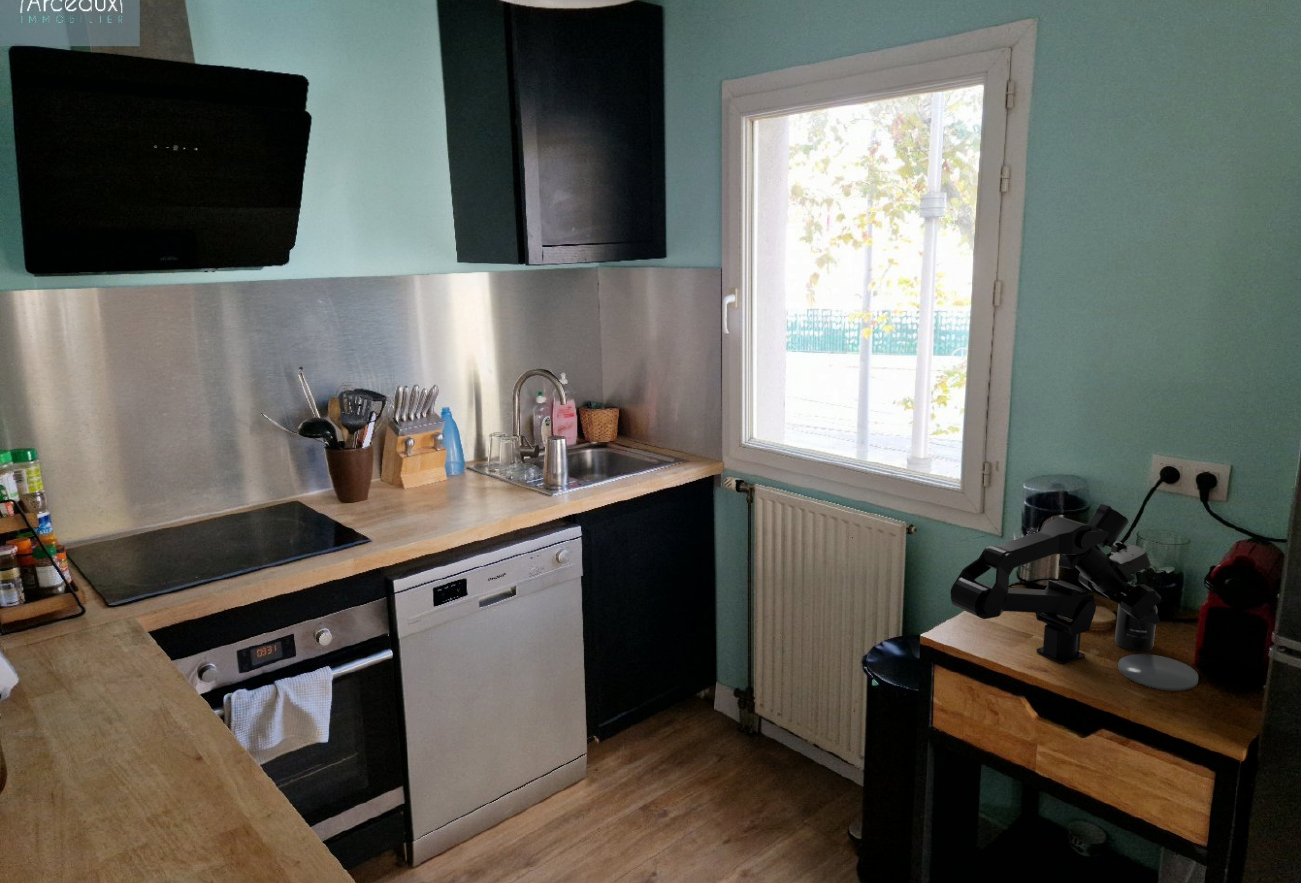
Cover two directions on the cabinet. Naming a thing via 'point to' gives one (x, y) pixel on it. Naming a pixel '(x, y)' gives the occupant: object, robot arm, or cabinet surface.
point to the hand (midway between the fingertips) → (1143, 613)
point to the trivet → (1158, 672)
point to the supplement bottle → (1134, 632)
